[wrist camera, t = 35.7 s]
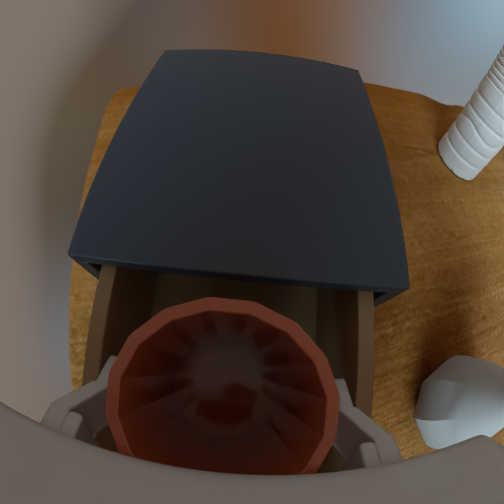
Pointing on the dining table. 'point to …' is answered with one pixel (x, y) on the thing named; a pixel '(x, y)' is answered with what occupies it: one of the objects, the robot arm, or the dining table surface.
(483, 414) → the gourd bottle
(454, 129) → the water bottle
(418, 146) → the dining table surface
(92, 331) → the drawer
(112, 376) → the cup
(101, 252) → the cabinet
